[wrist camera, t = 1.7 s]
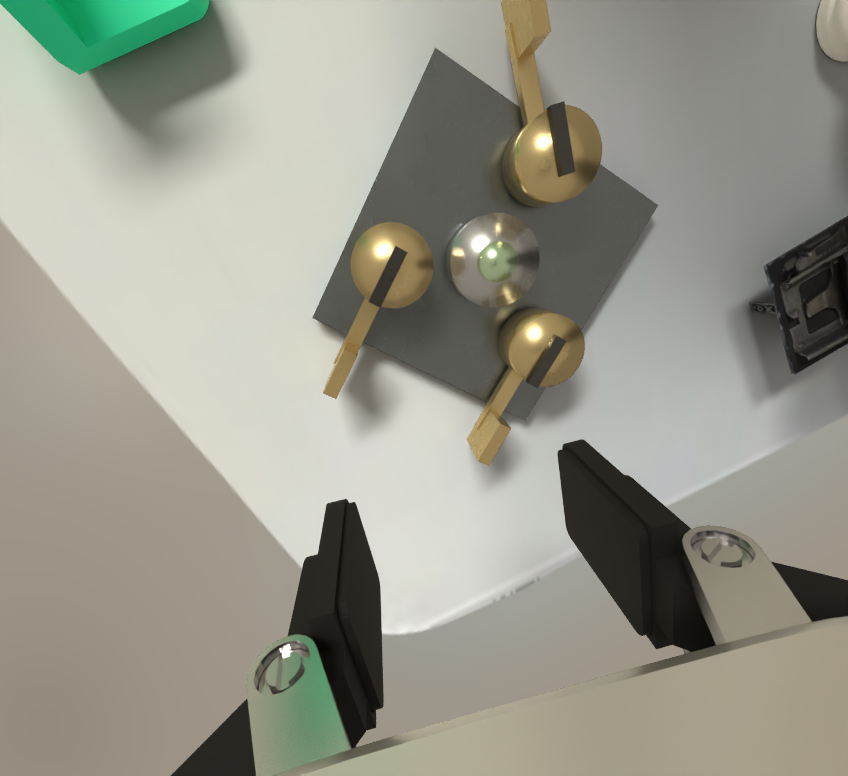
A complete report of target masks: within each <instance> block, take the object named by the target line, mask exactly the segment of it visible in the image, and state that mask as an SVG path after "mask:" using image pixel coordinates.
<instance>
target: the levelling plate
mask: <svg viewBox="0 0 848 776" xmlns="http://www.w3.org/2000/svg"><path fill="white" fill-rule="evenodd" d="M522 128H524V127H523V121H522V116H521V111H520V107H518V106H517V105H515V104H514V103H513V102H511V101H510V100H508V99H507V98H506V97H504V96H503V95H501V94H500V93H498V92H497V91H496V90H494V89H493V88H491V87H490V86H489V85H487V84H486V83H484V82H483V81H481V80H480V79H479V78H477V77H476V76H474V75H473V74H472V73H470V72H469V71H467V70H466V69H465V68H463V67H462V66H460V65H459V64H457V63H456V62H455V61H453V60H452V59H450V58H449V57H448V56H446V55H445V54H443V53H442V52H440V51H439V50H438V49H436V48H435V50H434V52H433V54H432V57H431V59H430V61H429V63H428V65H427V68H426V70H425V72H424V74H423V76H422V79H421V81H420V83H419V85H418V87H417V90H416V92H415V94H414V96H413V98H412V100H411V103H410V105H409V107H408V109H407V111H406V114H405V116H404V118H403V120H402V122H401V125H400V127H399V129H398V131H397V133H396V136H395V138H394V140H393V142H392V144H391V147H390V149H389V151H388V153H387V155H386V158H385V160H384V162H383V164H382V166H381V169H380V171H379V173H378V175H377V177H376V180H375V182H374V184H373V186H372V188H371V191H370V193H369V195H368V197H367V199H366V202H365V204H364V206H363V208H362V210H361V213H360V215H359V217H358V219H357V221H356V223H355V226H354V228H353V230H352V232H351V234H350V237H349V239H348V241H347V243H346V245H345V248H344V250H343V252H342V254H341V256H340V259H339V261H338V263H337V265H336V267H335V270H334V272H333V274H332V276H331V278H330V281H329V283H328V285H327V287H326V289H325V292H324V294H323V296H322V298H321V300H320V303H319V305H318V307H317V309H316V311H315V314H314V316H313V318H314V319H316V320H318V321H320V322H322V323H324V324H326V325H328V326H331V327H333V328H335V329H337V330H339V331H341V332H343V333H345V334H348V332H349V330H350V328H351V326H352V324H353V321H354V319H355V317H356V315H357V313H358V311H359V309H360V307H361V305H362V303H363V301H364V299H365V297H364V296H363V295H362V294H361V293H360V291H359V290H358V288H357V287H356V285H355V283H354V280H353V277H352V274H351V256H352V251H353V249H354V246H355V244H356V242H357V241H358V239H359V238H360V237H361V236H362V235H363V233H364V232H366V231H367V230H368V229H370V228H372V227H373V226H376V225H378V224H381V223H387V222H396V223H401V224H404V225H407V226H409V227H411V228H413V229H414V230H416V231H417V232H418V233H419V234H420V235H421V236H422V237H423V238H424V239H425V241H426V242H427V244H428V246H429V248H430V250H431V253H432V258H433V275H432V279H431V282H430V284H429V286H428V288H427V290H426V291H425V293H424V294H423V295H422V296H421V297H420V298H419V299H418V300H416V301H415V302H413V303H412V304H410V305H407V306H405V307H401V308H385V307H381V308H379V310H378V312H377V314H376V316H375V318H374V320H373V322H372V324H371V326H370V328H369V330H368V332H367V334H366V336H365V338H364V340H363V342H364V343H366V344H368V345H370V346H372V347H374V348H376V349H378V350H380V351H382V352H384V353H387V354H389V355H391V356H393V357H395V358H397V359H399V360H401V361H403V362H405V363H407V364H409V365H411V366H413V367H416V368H418V369H420V370H422V371H424V372H426V373H428V374H430V375H432V376H434V377H436V378H438V379H440V380H442V381H445V382H447V383H449V384H451V385H453V386H455V387H457V388H459V389H461V390H463V391H465V392H467V393H469V394H471V395H474V396H476V397H478V398H480V399H482V400H484V401H486V402H488V401H489V399H490V398H491V396H492V394H493V392H494V391H495V389H496V387H497V386H498V384H499V382H500V381H501V379H502V377H503V375H504V374H505V372H506V370H507V369H508V366H507V365H506V364H505V362H504V361H503V359H502V357H501V355H500V352H499V336H500V333H501V330H502V328H503V326H504V325H505V323H506V322H507V321H508V319H509V318H511V317H512V316H513V315H514V314H516V313H517V312H519V311H521V310H524V309H528V308H540V309H544V310H547V311H550V312H553V313H556V314H559V315H562V316H565V317H567V318H569V319H571V320H572V321H574V322H575V323H576V324H577V325H578V327H579V328H580V330H581V329H582V328H583V326H584V324H585V323H586V321H587V320H588V318H589V316H590V315H591V313H592V311H593V310H594V308H595V307H596V305H597V303H598V302H599V300H600V299H601V297H602V295H603V294H604V292H605V290H606V289H607V287H608V286H609V284H610V282H611V281H612V279H613V277H614V276H615V274H616V273H617V271H618V269H619V268H620V266H621V265H622V263H623V261H624V260H625V258H626V256H627V255H628V253H629V252H630V250H631V248H632V247H633V245H634V243H635V242H636V240H637V239H638V237H639V235H640V234H641V232H642V231H643V229H644V227H645V226H646V224H647V222H648V221H649V219H650V218H651V216H652V214H653V213H654V211H655V209H656V208H657V206H658V205H657V204H655V203H654V202H653V201H651V200H650V199H648V198H647V197H646V196H644V195H643V194H641V193H640V192H638V191H637V190H636V189H634V188H633V187H631V186H630V185H629V184H627V183H626V182H624V181H623V180H622V179H620V178H619V177H617V176H616V175H614V174H613V173H612V172H610V171H609V170H607V169H606V168H605V167H603V166H602V165H599V168H598V171H597V173H596V175H595V177H594V179H593V180H592V182H591V183H590V185H589V186H588V187H587V188H586V189H585V190H584V191H583V192H581V193H580V194H579V195H577V196H575V197H574V198H571V199H568V200H565V201H561V202H557V203H554V204H550V205H546V206H542V207H531V206H527V205H524V204H522V203H520V202H519V201H517V200H516V199H515V198H514V197H513V196H512V195H511V194H510V192H509V191H508V189H507V187H506V185H505V182H504V178H503V172H502V165H503V157H504V154H505V150H506V148H507V146H508V144H509V142H510V141H511V139H512V138H513V137H514V136H515V135H516V134H517V133H518V132H519V131H520V130H521V129H522ZM545 388H546V387H540V386H539V387H538V388H536V387H534V386H532V385H530V384H528V383H527V382H526V381H525V380H524V379H522V381H521V383H520V384H519V386H518V388H517V389H516V391H515V393H514V394H513V396H512V398H511V399H510V401H509V403H508V404H507V406H506V408H505V409H504V410H505V411H507V412H509V413H511V414H513V415H515V416H517V417H519V418H521V419H523V420H526V418H527V417H528V415H529V413H530V412H531V410H532V409H533V407H534V405H535V404H536V402H537V400H538V399H539V397H540V396H541V394H542V392H543V391H544V389H545Z"/></svg>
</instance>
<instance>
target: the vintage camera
mask: <svg viewBox="0 0 848 776" xmlns="http://www.w3.org/2000/svg"><path fill="white" fill-rule="evenodd" d="M764 269H765V273H766V276H767V280H768V283H769V287H770V290H771V294H772V298H773V302H774V303H759V302H753V303H750V306H751V309H752V312H755V313H767V314H776V315H777V318H778V323H779V327H780V331H781V335H782V339H783V343H784V347H785V351H786V355H787V359H788V363H789V366H790V370H791V374H794V375H795V374H796V373H798V372H800V371H802V370H803V369H805V368H807V367H808V366H810V365H812V364H814V363H815V362H817V361H819V360H820V359H822V358H824V357H825V356H827V355H829V354H831V353H832V352H834V351H836V350H837V349H839V348H841V347H843V346H844V345H846V344H848V216H847V217H845V218H843V219H842V220H840V221H838V222H837V223H835V224H833V225H832V226H830V227H828V228H827V229H825V230H824V231H822V232H820V233H818V234H817V235H815V236H813V237H811V238H810V239H808V240H806V241H805V242H803V243H801V244H800V245H798V246H796V247H795V248H793V249H791V250H790V251H788V252H786V253H785V254H783V255H781V256H780V257H778V258H776V259H775V260H773V261H771V262H770V263H768V264H767V265H765V266H764Z"/></svg>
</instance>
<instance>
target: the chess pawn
mask: <svg viewBox="0 0 848 776" xmlns="http://www.w3.org/2000/svg"><path fill="white" fill-rule="evenodd" d="M816 29H817V38H818V41H819V44H820V47H821V48H822V49H823V51H824V52H825V54H826V55H828V56H829V57H830V58H832V59H833V60H837V61H841V62H845V61H848V0H821V3H820V6H819V9H818V14H817V21H816Z"/></svg>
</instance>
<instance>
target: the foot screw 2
mask: <svg viewBox="0 0 848 776" xmlns="http://www.w3.org/2000/svg"><path fill="white" fill-rule="evenodd" d="M501 6H502V11H503V16H504V21H505V27H506V29H505V33H506V38H507V43H508V48H509V53H510V59H511V64H512V69H513V74H514V80H515V85H516V90H517V95H518V100H519V106H520V111H521V116H522V121H523V127H524V128H522V129H521V130H520V131H519V132H518V133H517V134H516V135H515V136H514V137H513V138H512V139H511V141H510V142H509V144H508V146H507V148H506V150H505V154H504V157H503V165H502V172H503V178H504V182H505V185H506V187H507V189H508V191H509V192H510V194H511V195H512V196H513V197H514V198H515V199H516V200H517V201H519V202H520V203H522V204H524V205H527V206H531V207H542V206H546V205H550V204H554V203H557V202H561V201H565V200H568V199H571V198H574V197H575V196H577V195H579V194H580V193H581V192H583V191H584V190H585V189H586V188H587V187H588V186H589V185H590V183H591V182H592V180H593V179H594V177H595V175H596V173H597V171H598V168H599V165H600V161H601V155H602V144H601V137H600V134H599V131H598V128H597V126H596V124H595V123H594V121H593V120H592V119H591V117H590V116H589V115H588V114H587V113H585V112H584V111H582V110H581V109H579V108H576V107H573V106H569V105H565V103H564V102H561V103H557V104H554V105H551V106H550V107H548V108H547V110H545V111H544V108H543V102H542V96H541V91H540V85H539V79H538V74H537V68H536V62H535V56H534V52H535V50H536V49H537V48H538V47H539V45H540V44H541V43H542V42H543V41H544V39H545V38H546V37H547V36H548V34H549V33H550V32H551V29H550V22H549V16H548V10H547V4H546V0H503V1H502V2H501Z"/></svg>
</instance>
